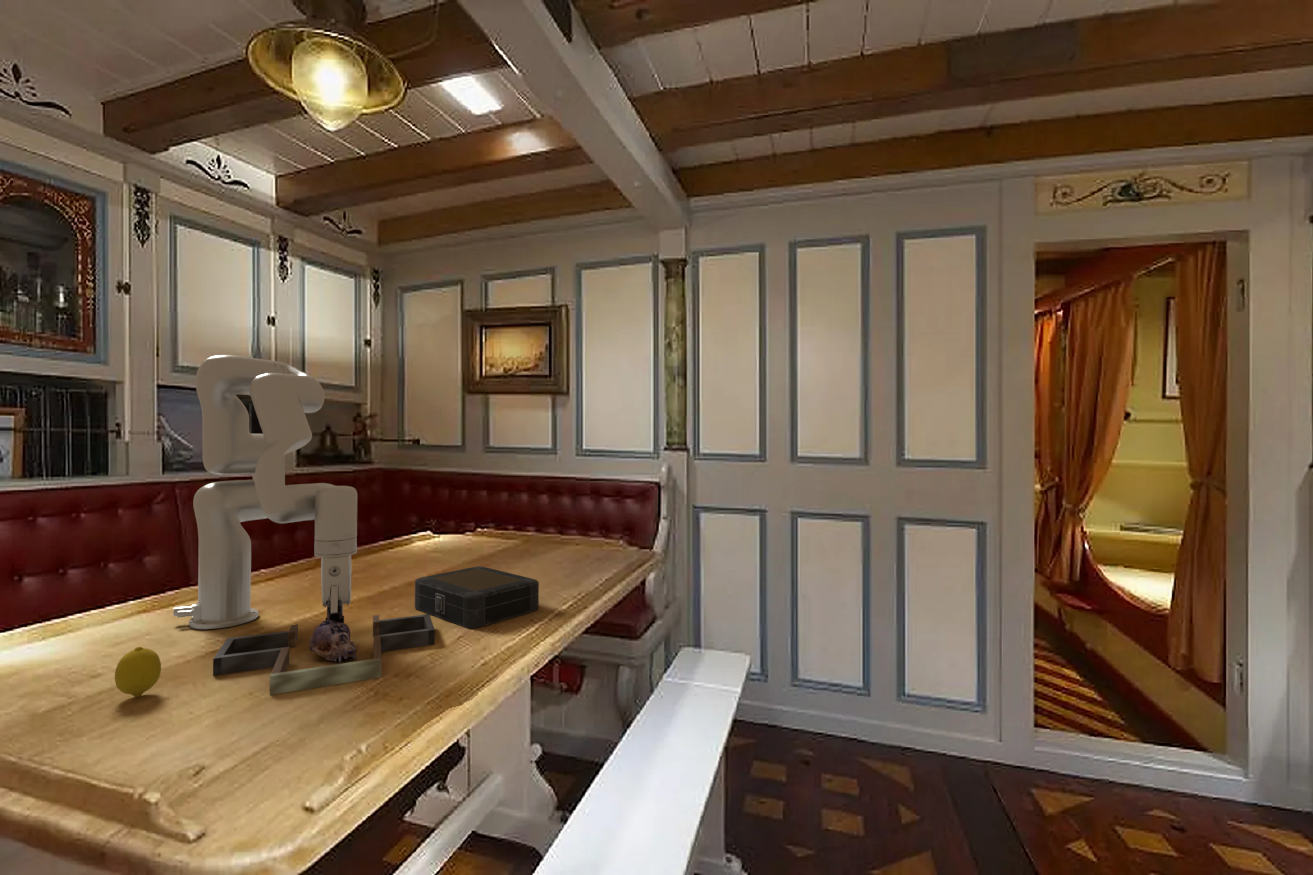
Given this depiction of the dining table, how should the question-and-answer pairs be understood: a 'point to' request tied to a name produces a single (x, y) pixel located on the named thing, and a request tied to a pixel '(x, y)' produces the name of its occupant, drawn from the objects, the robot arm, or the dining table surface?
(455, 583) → the cash box
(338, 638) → the skull
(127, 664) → the lemon
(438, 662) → the dining table surface
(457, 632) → the dining table surface
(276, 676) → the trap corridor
